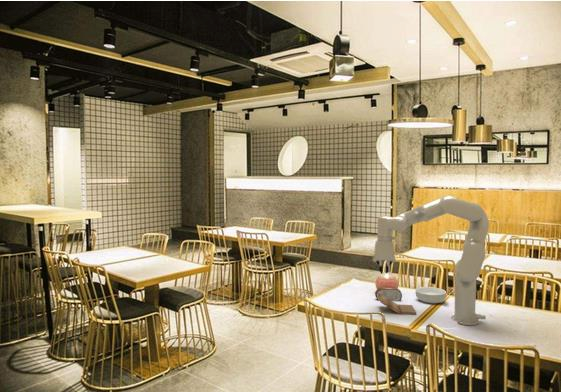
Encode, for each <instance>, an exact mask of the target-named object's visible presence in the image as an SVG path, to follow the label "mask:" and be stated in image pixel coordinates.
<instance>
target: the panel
mask: <svg viewBox="0 0 561 392" xmlns="http://www.w3.org/2000/svg"><path fill="white" fill-rule="evenodd" d="M378 297H379V299H380V300H379V301H380V304H382V305H383V306H386V307H387V308H389V309H391V310H392V311H394V312H395V313H397V314H398V315H401V314H400V313H401V310H400V308H399V306H398V304H397V303H396V302H395V301H391V300H389V299H388V298H386V297H384V296H383V295H381V294H379V295H378Z"/></svg>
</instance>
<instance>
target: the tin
mask: <svg viewBox="0 0 561 392" xmlns="http://www.w3.org/2000/svg"><path fill="white" fill-rule="evenodd" d="M379 294H381V295H383V296H384V297H386V298H388V299H389V300H391V301H393V302H401V300H402V298H403V294H402V292H401V290H400V289H399V288H398V289H397V288H387V287H381V288H378V289H377V288H376V291H375V292H374V295H375V298H376V299H377V301H380V299H379V297H378V295H379Z"/></svg>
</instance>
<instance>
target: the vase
mask: <svg viewBox="0 0 561 392" xmlns="http://www.w3.org/2000/svg"><path fill="white" fill-rule="evenodd" d="M390 266H391V265H390ZM390 266H389V272H388V274H386V273H385V269H386V264H385V265H384V266H383V267H384V268H383V273H382V274H381V273H380V274H379V275H378V276H377V277H376V279H375V284H374V285H375V288H376V290H377V289H378V288H381V287H387V288H397V289H399V282H398V279H397V277H396V276H395V275H394V274H392V273H391V271H390V269H391V267H390Z"/></svg>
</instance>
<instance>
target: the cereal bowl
mask: <svg viewBox="0 0 561 392" xmlns="http://www.w3.org/2000/svg"><path fill="white" fill-rule="evenodd" d="M414 291H415V297H416V298H417V299H418V300H419V301H420V302H423V303H427V304H439V303H443V302H444V301H445V299H446V297H447V291H446V290H444V289H442V288H440V287H439V288H438V287H434V286H420V287H417V288H415V290H414Z"/></svg>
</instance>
